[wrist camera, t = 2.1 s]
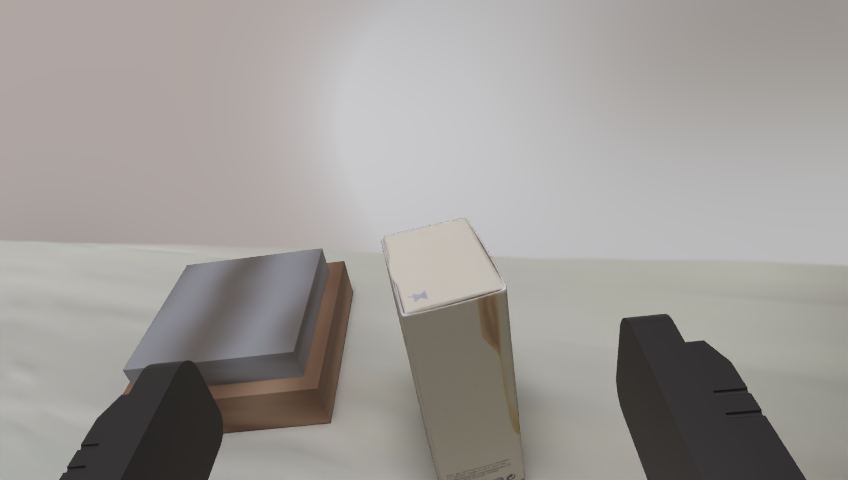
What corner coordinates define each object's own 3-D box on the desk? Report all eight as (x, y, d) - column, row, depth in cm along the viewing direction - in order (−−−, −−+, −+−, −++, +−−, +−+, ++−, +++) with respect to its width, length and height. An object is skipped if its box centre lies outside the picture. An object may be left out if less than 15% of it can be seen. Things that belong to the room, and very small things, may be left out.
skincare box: (528, 481, 27) (514, 293, 20) (443, 505, 27) (401, 321, 20) (489, 385, 32) (468, 211, 26) (418, 404, 32) (378, 232, 25)
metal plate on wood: (353, 292, 42) (337, 239, 39) (330, 422, 32) (307, 363, 29) (204, 309, 43) (179, 258, 40) (137, 441, 33) (97, 385, 30)
